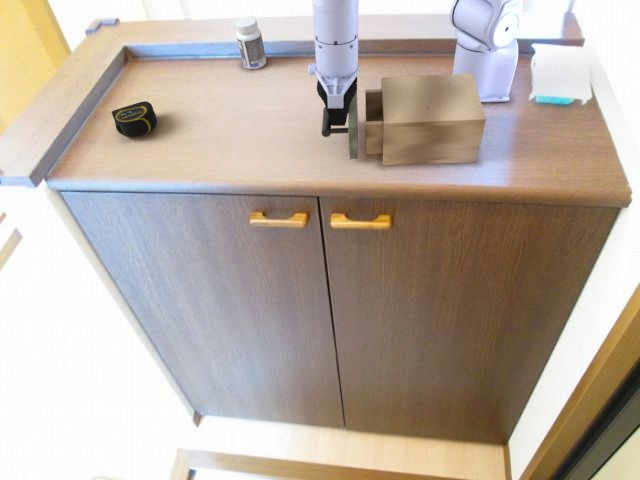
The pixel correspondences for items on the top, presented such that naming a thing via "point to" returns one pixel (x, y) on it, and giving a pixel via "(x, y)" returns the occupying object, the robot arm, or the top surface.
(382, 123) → the drawer
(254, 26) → the pill bottle
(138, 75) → the top surface
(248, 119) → the top surface
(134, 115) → the tape measure
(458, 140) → the cabinet
